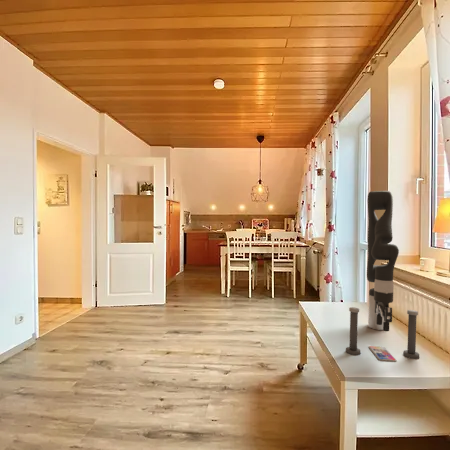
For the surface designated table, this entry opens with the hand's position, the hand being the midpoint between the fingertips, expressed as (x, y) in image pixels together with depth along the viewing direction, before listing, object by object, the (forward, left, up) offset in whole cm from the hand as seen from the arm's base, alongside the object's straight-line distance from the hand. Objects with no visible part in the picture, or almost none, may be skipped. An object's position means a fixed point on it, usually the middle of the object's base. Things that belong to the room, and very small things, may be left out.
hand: (382, 327), depth 146 cm
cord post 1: (0, -12, -12) cm, 17 cm away
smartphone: (0, 0, -12) cm, 12 cm away
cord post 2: (0, +12, -12) cm, 17 cm away
